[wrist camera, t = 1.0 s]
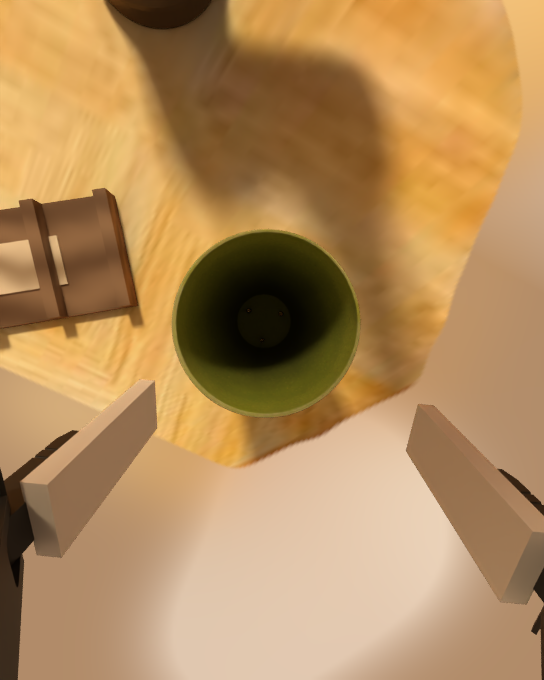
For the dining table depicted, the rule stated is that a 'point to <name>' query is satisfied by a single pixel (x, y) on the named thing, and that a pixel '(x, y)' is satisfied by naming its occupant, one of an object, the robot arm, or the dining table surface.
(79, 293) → the slot board
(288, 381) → the flower pot
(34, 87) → the dining table surface
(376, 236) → the dining table surface
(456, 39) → the dining table surface
